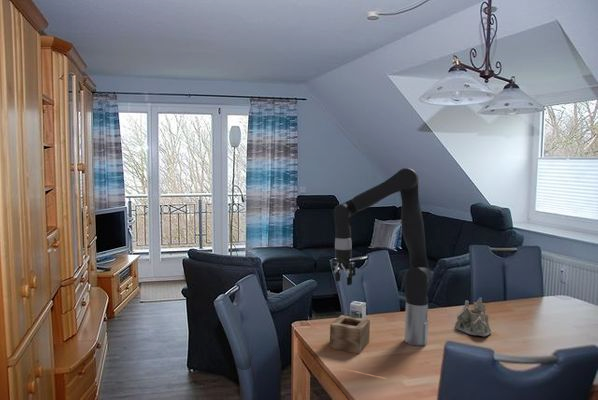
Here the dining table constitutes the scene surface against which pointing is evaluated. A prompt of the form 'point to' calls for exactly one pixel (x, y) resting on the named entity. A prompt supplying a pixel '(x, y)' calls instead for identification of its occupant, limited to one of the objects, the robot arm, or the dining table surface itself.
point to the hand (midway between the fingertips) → (343, 283)
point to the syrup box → (358, 309)
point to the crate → (349, 334)
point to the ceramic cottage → (473, 319)
